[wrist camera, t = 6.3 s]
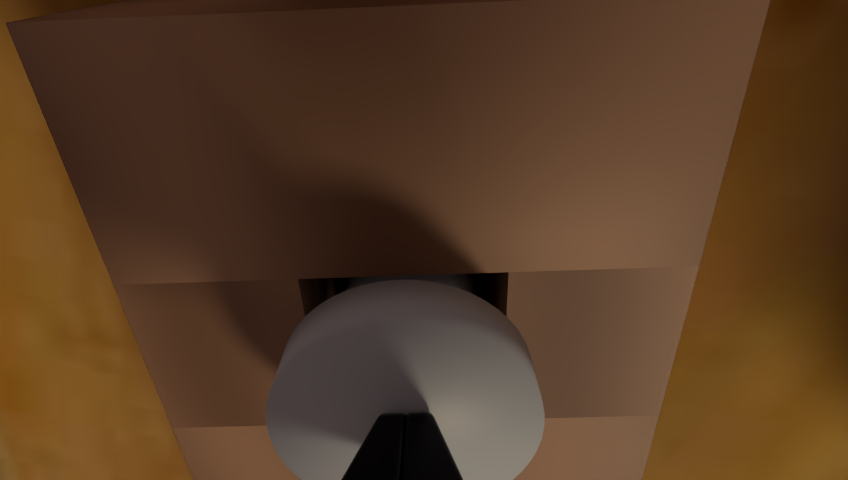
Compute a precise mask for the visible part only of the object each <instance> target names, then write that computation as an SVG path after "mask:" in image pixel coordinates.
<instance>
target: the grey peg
mask: <svg viewBox="0 0 848 480" xmlns="http://www.w3.org/2000/svg"><path fill="white" fill-rule="evenodd" d="M418 412H429V413H431V414H432V415H433V416H434V418H435V420H436V422H437V424H438V426H439V428H440V431H441V433H442V435H443V437H444V439H445V441H446V443H447V446H448V448H449V450H450V452H451V454H452V456H453V459H454V461H455V463H456V465H457V467H458V469H459V471H460V474H461V476H462V478H463V480H513V479H514V478H515V477H516V476H518V475H519V474H520V473H521V472H522V471H523V470H524V468H525V467H526V466H527V465H528V464H529V462H530V461H531V460H532V458H533V456H534V455H535V453H536V451H537V449H538V447H539V445H540V442H541V440H542V436H543V431H544V423H545V413H544V407H543V401H542V397H541V393H540V390H539V386H538V382H537V378H536V374H535V370H534V366H533V362H532V358H531V355H530V352H529V349H528V347H527V344H526V342H525V340H524V339H523V337H522V335H521V333H520V332H519V330H518V329H517V328H516V327H515V325H514V324H513V323H512V322H511V321H510V320H509V319H508V318H507V317H506V316H505V315H504V314H503V313H502V312H501V311H500V310H498V309H497V308H495V307H494V306H493V305H491V304H490V303H488V302H487V301H485V300H483V299H481V298H479V297H477V296H475V289H474V282H473V275H472V273H470V274H439V275H407V276H376V277H349V281H348V285H347V290H346V291H344V292H342V293H339V294H337V295H335V296H333V297H331V298H329V299H328V300H326V301H325V302H323V303H321V304H320V305H318V306H317V307H316V308H314V309H313V310H312V311H311V312H310V313H309V314H307V315H306V316H305V317H304V318H303V320H302V321H301V322H300V323H299V324H298V325H297V326H296V328H295V330H294V331H293V333H292V334H291V336H290V338H289V340H288V342H287V345H286V347H285V350H284V352H283V355H282V358H281V361H280V364H279V367H278V370H277V372H276V375H275V378H274V381H273V384H272V387H271V390H270V393H269V396H268V401H267V406H266V424H267V430H268V434H269V437H270V440H271V442H272V445H273V447H274V449H275V450H276V452H277V454H278V455H279V457H280V458H281V460H282V461H283V462H284V463H285V465H286V466H287V467H288V468H289V469H290V470H291V471H292V472H293V473H294V474H295V475H296V476H297V477H298V478H300V479H301V480H341V479H342V477H343V476H344V474H345V472H346V471H347V469H348V467H349V465H350V464H351V462H352V460H353V458H354V457H355V455H356V453H357V452H358V450H359V448H360V446H361V445H362V443H363V441H364V440H365V438H366V436H367V434H368V433H369V431H370V429H371V427H372V426H373V424H374V422H375V421H376V419H377V417H378V416H379V415H381V414H383V413H403V414H404V415H405V416H407V414H409V413H418Z"/></svg>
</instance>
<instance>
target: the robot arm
mask: <svg viewBox="0 0 848 480" xmlns="http://www.w3.org/2000/svg"><path fill="white" fill-rule="evenodd" d="M341 480H463V478H462V476H461V474H460V471H459V469H458V467H457V465H456V463H455V461H454V459H453V456H452V454H451V452H450V450H449V448H448V446H447V443H446V441H445V439H444V437H443V435H442V433H441V431H440V428H439V426H438V424H437V422H436V420H435V418H434V416H433V415H432V414H431V413H429V412H418V413H409V414H407V416H405V415H404V414H403V413H383V414H381V415H379V416H378V417H377V419H376V421H375V422H374V424H373V426H372V427H371V429H370V431H369V433H368V434H367V436H366V438H365V440H364V441H363V443H362V445H361V446H360V448H359V450H358V452H357V453H356V455H355V457H354V458H353V460H352V462H351V464H350V465H349V467H348V469H347V471H346V472H345V474H344V476H343V477H342V479H341Z"/></svg>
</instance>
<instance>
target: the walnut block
mask: <svg viewBox="0 0 848 480" xmlns="http://www.w3.org/2000/svg"><path fill="white" fill-rule="evenodd" d="M769 4H770V0H126V1H120V2H115V3H109V4H104V5H99V6H93V7H88V8H83V9H77V10H72V11H66V12H61V13H56V14H50V15H45V16H40V17H34V18H29V19H23V20H18V21H13V22H7V23H6V25H7V27H8V30H9V32H10V35H11V37H12V40H13V42H14V44H15V47H16V49H17V52H18V54H19V57H20V59H21V61H22V64H23V66H24V69H25V71H26V74H27V76H28V78H29V81H30V83H31V86H32V88H33V91H34V93H35V96H36V98H37V100H38V103H39V105H40V108H41V110H42V113H43V115H44V117H45V120H46V122H47V125H48V127H49V130H50V132H51V134H52V137H53V139H54V142H55V144H56V147H57V149H58V151H59V154H60V156H61V159H62V161H63V164H64V166H65V168H66V171H67V173H68V176H69V178H70V181H71V183H72V186H73V188H74V190H75V193H76V195H77V198H78V200H79V203H80V205H81V207H82V210H83V212H84V215H85V217H86V220H87V222H88V224H89V227H90V229H91V232H92V234H93V237H94V239H95V241H96V244H97V246H98V249H99V251H100V254H101V256H102V258H103V261H104V263H105V266H106V268H107V271H108V273H109V275H110V278H111V280H112V283H113V285H114V288H115V290H116V293H117V295H118V297H119V300H120V302H121V305H122V307H123V310H124V312H125V314H126V317H127V319H128V322H129V324H130V327H131V329H132V331H133V334H134V336H135V339H136V341H137V344H138V346H139V348H140V351H141V353H142V356H143V358H144V361H145V363H146V365H147V368H148V370H149V373H150V375H151V378H152V380H153V382H154V385H155V387H156V390H157V392H158V395H159V397H160V400H161V402H162V404H163V407H164V409H165V412H166V414H167V417H168V419H169V421H170V424H171V426H172V429H173V431H174V434H175V436H176V438H177V441H178V443H179V446H180V448H181V451H182V453H183V455H184V458H185V460H186V463H187V465H188V468H189V470H190V472H191V475H192V477H193V480H301V479H300V478H298V477H297V476H296V475H295V474H294V473H293V472H292V471H291V470H290V469H289V468H288V467H287V466H286V465H285V463H284V462H283V461H282V460H281V458H280V457H279V455H278V454H277V452H276V450H275V449H274V447H273V445H272V442H271V440H270V437H269V434H268V430H267V424H266V406H267V401H268V396H269V393H270V390H271V387H272V384H273V381H274V378H275V375H276V372H277V370H278V367H279V364H280V361H281V358H282V355H283V352H284V350H285V347H286V345H287V342H288V340H289V338H290V336H291V334H292V333H293V331H294V330H295V328H296V326H297V325H298V324H299V323H300V322H301V321H302V320H303V318H304V317H305V316H306V315H307V314H309V313H310V312H311V311H312V310H313V309H314V308H316V307H317V306H318V305H320V304H321V303H323V302H325V301H326V300H328V299H329V298H331V297H333V296H335V295H337V294H339V293H342V292H344V291H346V290H347V285H348V281H349V277H376V276H407V275H439V274H470V273H479V281H473V282H474V289H475V296H477V297H479V298H481V299H483V300H485V301H487V302H488V303H490V304H491V305H493V306H494V307H495V308H497V309H498V310H500V311H501V312H502V313H503V314H504V315H505V316H506V317H507V318H508V319H509V320H510V321H511V322H512V323H513V324H514V325H515V327H516V328H517V329H518V330H519V332H520V333H521V335H522V337H523V339H524V340H525V342H526V344H527V347H528V349H529V352H530V355H531V358H532V362H533V366H534V370H535V374H536V378H537V382H538V386H539V390H540V393H541V397H542V401H543V407H544V413H545V423H544V431H543V436H542V440H541V442H540V445H539V447H538V449H537V451H536V453H535V455H534V456H533V458H532V460H531V461H530V462H529V464H528V465H527V466H526V467H525V468H524V470H523V471H522V472H521V473H520V474H519V475H518V476H516V477H515V478H514V479H513V480H642V478H643V474H644V470H645V466H646V463H647V459H648V455H649V451H650V448H651V444H652V440H653V436H654V433H655V429H656V425H657V422H658V418H659V414H660V410H661V407H662V403H663V399H664V395H665V392H666V388H667V384H668V381H669V377H670V373H671V369H672V366H673V362H674V358H675V354H676V351H677V347H678V343H679V340H680V336H681V332H682V328H683V325H684V321H685V317H686V313H687V310H688V306H689V302H690V298H691V295H692V291H693V287H694V284H695V280H696V276H697V272H698V269H699V265H700V261H701V257H702V254H703V250H704V246H705V243H706V239H707V235H708V231H709V228H710V224H711V220H712V216H713V213H714V209H715V205H716V202H717V198H718V194H719V190H720V187H721V183H722V179H723V175H724V172H725V168H726V164H727V160H728V157H729V153H730V149H731V146H732V142H733V138H734V134H735V131H736V127H737V123H738V119H739V116H740V112H741V108H742V105H743V101H744V97H745V93H746V90H747V86H748V82H749V78H750V75H751V71H752V67H753V64H754V60H755V56H756V52H757V49H758V45H759V41H760V37H761V34H762V30H763V26H764V22H765V19H766V15H767V11H768V8H769Z"/></svg>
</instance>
